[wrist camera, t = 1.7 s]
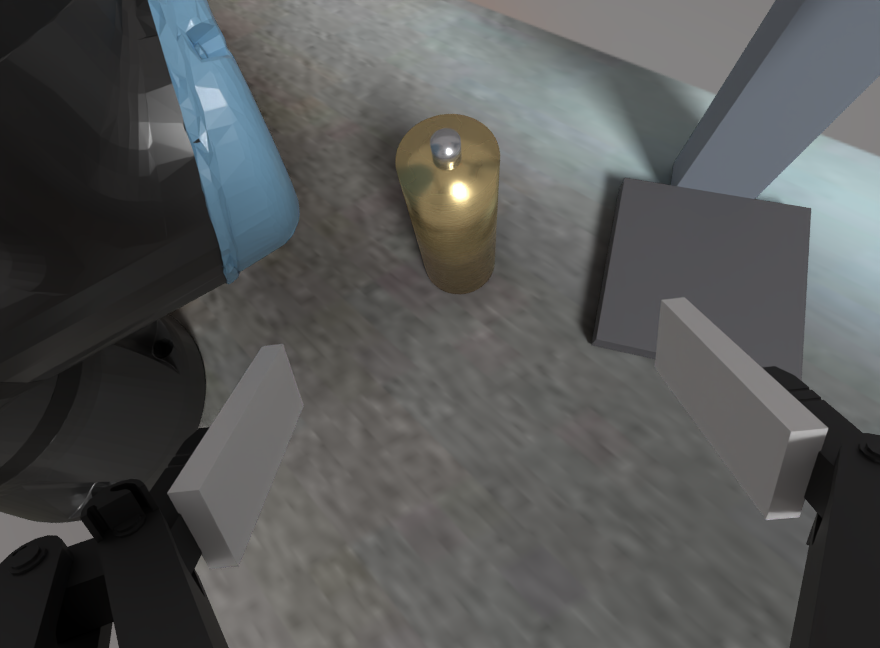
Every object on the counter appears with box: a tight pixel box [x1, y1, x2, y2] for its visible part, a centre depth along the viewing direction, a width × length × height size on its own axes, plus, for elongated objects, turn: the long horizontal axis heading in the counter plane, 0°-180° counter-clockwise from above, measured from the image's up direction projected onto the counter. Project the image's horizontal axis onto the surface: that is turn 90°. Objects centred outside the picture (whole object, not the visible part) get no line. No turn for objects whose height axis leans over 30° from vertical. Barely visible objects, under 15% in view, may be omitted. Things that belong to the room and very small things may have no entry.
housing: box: [395, 114, 500, 294], centre depth 28 cm, size 5×5×13 cm
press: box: [591, 0, 880, 380], centre depth 19 cm, size 15×15×28 cm
